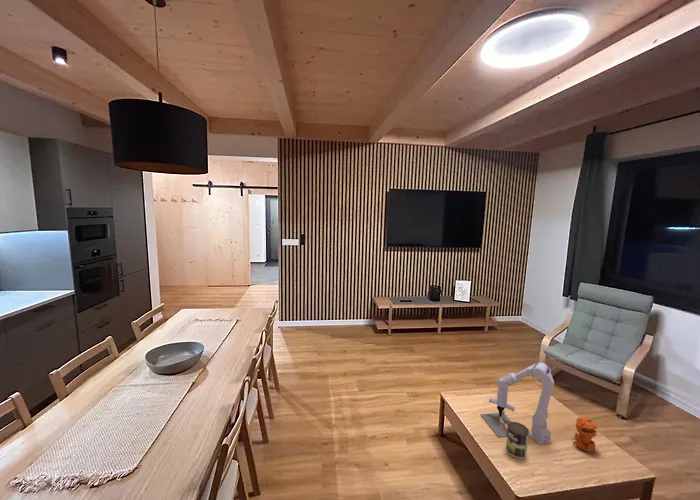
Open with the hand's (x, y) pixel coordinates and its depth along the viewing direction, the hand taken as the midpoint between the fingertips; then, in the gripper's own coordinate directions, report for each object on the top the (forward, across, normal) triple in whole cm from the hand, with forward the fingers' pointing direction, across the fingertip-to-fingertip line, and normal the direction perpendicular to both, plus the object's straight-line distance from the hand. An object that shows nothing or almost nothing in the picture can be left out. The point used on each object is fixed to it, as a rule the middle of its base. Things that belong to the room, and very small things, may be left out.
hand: (500, 416), depth 194 cm
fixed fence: (+1, -5, +9) cm, 10 cm away
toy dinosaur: (+2, -42, -6) cm, 43 cm away
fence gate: (+1, -1, +1) cm, 2 cm away
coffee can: (+2, -14, +22) cm, 26 cm away
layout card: (+2, -2, +5) cm, 6 cm away
